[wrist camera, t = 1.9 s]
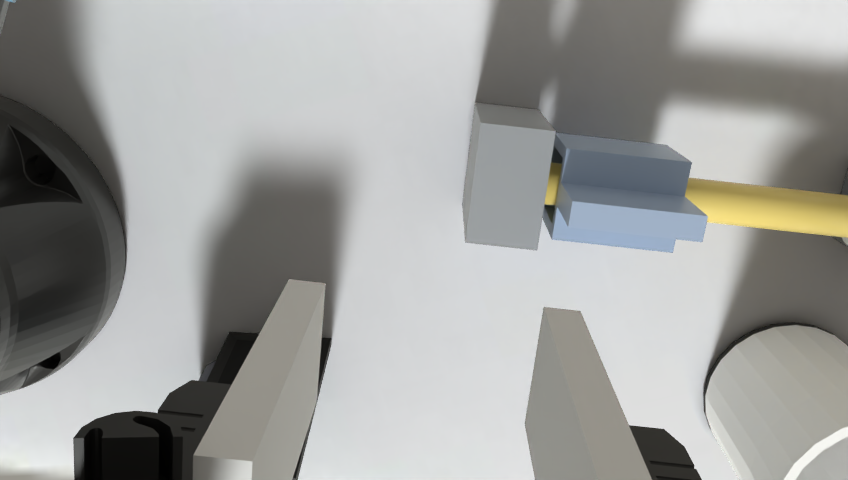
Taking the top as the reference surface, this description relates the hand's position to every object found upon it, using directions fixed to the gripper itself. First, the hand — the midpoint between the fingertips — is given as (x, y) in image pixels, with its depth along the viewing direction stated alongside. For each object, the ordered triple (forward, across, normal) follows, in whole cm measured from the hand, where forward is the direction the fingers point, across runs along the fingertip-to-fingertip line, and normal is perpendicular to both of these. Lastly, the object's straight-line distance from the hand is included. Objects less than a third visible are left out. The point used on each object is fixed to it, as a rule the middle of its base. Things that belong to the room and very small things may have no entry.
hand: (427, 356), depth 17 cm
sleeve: (+20, +7, 0) cm, 21 cm away
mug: (+23, +20, -11) cm, 32 cm away
